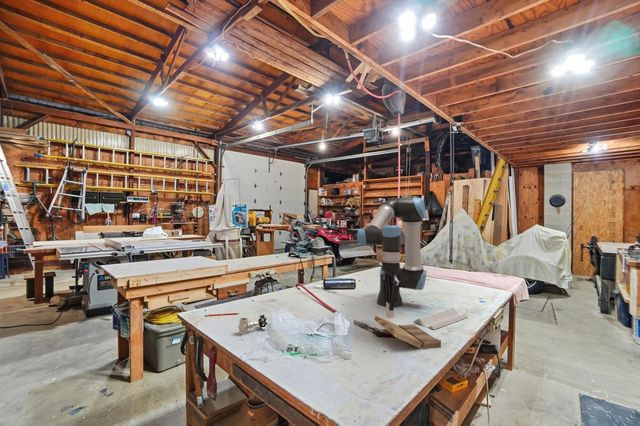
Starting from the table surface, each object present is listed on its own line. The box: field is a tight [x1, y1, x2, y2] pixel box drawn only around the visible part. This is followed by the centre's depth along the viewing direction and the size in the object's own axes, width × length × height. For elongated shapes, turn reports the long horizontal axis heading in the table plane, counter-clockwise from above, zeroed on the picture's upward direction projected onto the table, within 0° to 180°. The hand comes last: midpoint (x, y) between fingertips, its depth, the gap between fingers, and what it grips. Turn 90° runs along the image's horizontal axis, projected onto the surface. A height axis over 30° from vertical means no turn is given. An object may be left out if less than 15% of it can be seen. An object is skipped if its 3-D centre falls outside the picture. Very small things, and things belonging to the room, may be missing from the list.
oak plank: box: [373, 315, 422, 349], centre depth 122 cm, size 20×12×2 cm, turn 14°
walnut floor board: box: [397, 323, 442, 350], centre depth 124 cm, size 20×8×2 cm, turn 14°
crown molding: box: [412, 307, 468, 331], centre depth 148 cm, size 31×12×4 cm, turn 126°
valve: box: [238, 314, 268, 336], centre depth 128 cm, size 7×7×12 cm
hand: (389, 317), depth 121 cm, fingers closed
